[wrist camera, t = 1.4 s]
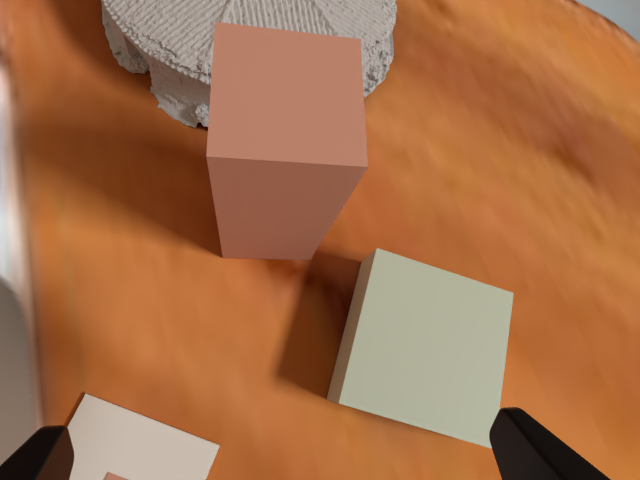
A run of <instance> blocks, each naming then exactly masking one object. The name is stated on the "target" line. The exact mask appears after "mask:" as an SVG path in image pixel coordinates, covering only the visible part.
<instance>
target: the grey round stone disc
mask: <svg viewBox="0 0 640 480" xmlns="http://www.w3.org/2000/svg"><path fill="white" fill-rule="evenodd" d="M395 1H396V0H101V5H102V23H103V26H104V28H105V35H106V37H107V40H108V41H109V47H110V49H111V50H112V54H113V56H114V58H116V59H117V61H118V64H119V65H120V66H122V67H124V68H125V69H127V70H128V71H129V72H131V73H132V74H133V73H142V74H144V73H146V72H147V71H150V73H151V74H150V77H151V78H152V79H151V82H152V85H151V86H152V87H150V92H151V93H153V94H154V95H155V97H156V99H157V100H158V101H159V104H158V107H157V106H156V107H157V108H159V107H160V108H162V109H163V110H164V111H165V112H166V113H167V114H168V115H169V116H171V117H172V118H173V119H175V120H178V121H180V122H182V124H184V125H186V126H189V125H190V126H191V127H194V128H196V127H197V123H199V122H200V123H201V124H202V125H203V126H204V127H207V126H208V122H209V107H210V92H211V76H212V61H213V46H214V31H215V22H222V23H231V24H239V25H247V26H256V27H264V28H272V29H281V30H289V31H298V32H306V33H314V34H323V35H331V36H339V37H348V38H356V39H360V40H361V57H362V74H363V91H364V96H365V97H366V96H367V95H369V93H371V92H373V90H374V89H375V87H376V86H377V85H378V84H380V83H381V82H382V81H383V80H384V79H385V74H386V73H387V71H388V70H389V69H390V68H389V65H390V63H392V61H393V57H394V51H393V48H394V46H393V45H394V44H393V36H392V31H393V28H394V27H393V26H394V25H395V24H396V23H395V21H396V16H395V13H397V11H396V8H397V5H396V4H395ZM397 10H398V9H397Z"/></svg>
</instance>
